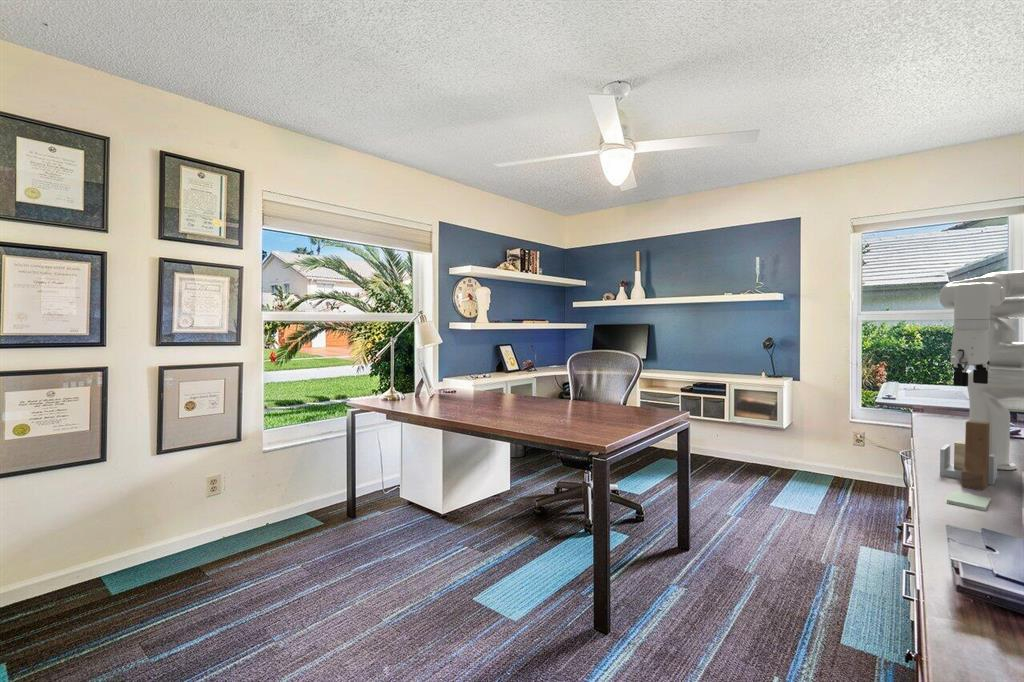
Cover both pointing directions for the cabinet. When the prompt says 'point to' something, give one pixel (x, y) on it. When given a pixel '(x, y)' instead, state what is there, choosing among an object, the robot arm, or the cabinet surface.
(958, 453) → the beech block
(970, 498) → the mat
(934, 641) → the cabinet surface
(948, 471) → the slot guard
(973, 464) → the wooden block
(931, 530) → the cabinet surface
